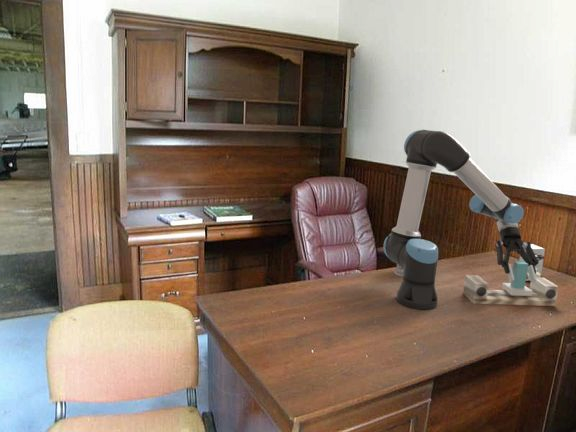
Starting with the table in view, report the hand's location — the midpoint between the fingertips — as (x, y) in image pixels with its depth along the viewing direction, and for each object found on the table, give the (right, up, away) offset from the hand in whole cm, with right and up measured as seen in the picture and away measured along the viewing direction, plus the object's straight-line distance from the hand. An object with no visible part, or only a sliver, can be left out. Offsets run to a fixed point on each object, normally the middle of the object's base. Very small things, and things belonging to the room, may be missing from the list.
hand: (523, 281), depth 175 cm
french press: (-37, -1, +31) cm, 48 cm away
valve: (+18, -4, +28) cm, 34 cm away
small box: (+23, -2, +39) cm, 45 cm away
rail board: (-3, -8, +5) cm, 10 cm away
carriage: (0, -6, +5) cm, 7 cm away
